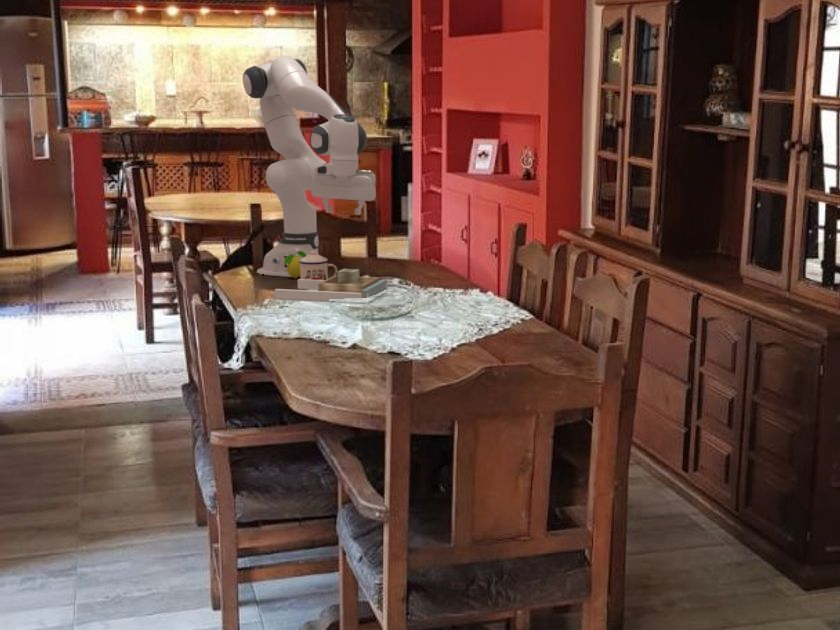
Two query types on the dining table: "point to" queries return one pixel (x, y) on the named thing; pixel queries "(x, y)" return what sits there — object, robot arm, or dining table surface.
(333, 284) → the crate
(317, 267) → the teacup with lid
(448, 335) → the dining table surface
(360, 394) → the dining table surface
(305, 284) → the bay
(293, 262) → the lemon
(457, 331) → the dining table surface
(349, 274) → the block
